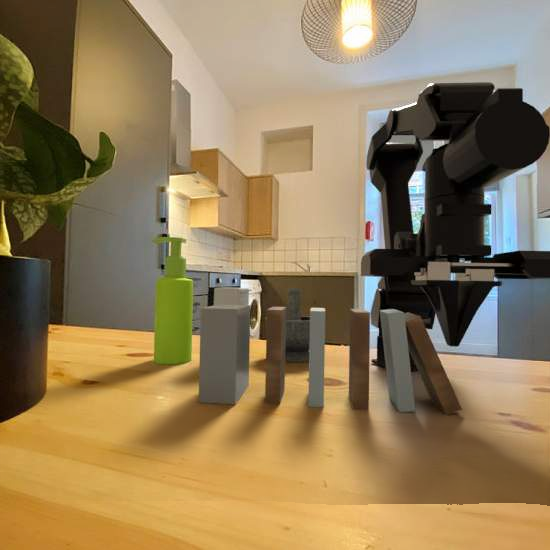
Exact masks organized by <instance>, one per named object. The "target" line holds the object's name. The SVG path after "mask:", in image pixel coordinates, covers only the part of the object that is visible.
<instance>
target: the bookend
mask: <svg viewBox="0 0 550 550" xmlns="http://www.w3.org/2000/svg"><path fill="white" fill-rule="evenodd" d="M199 337H200V338H199V368H198V369H199V370H198V371H199V372H198V373H199V375H198V403H202V404H203V403H204V404H206V403H207V404H222V405H236V404H237V403H238V401H240V398H241V397H242V395H243V394H244V393H245V392H246V390H247V389H248V387H249V385H250V383H249V381H250V349H251V348H250V342H251V341H250V339H251V305H250V304H248V305H225V304H219V305H214V304H213V305H210V306H209V305H208V306H205V307H201V308H200V335H199Z"/></svg>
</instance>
